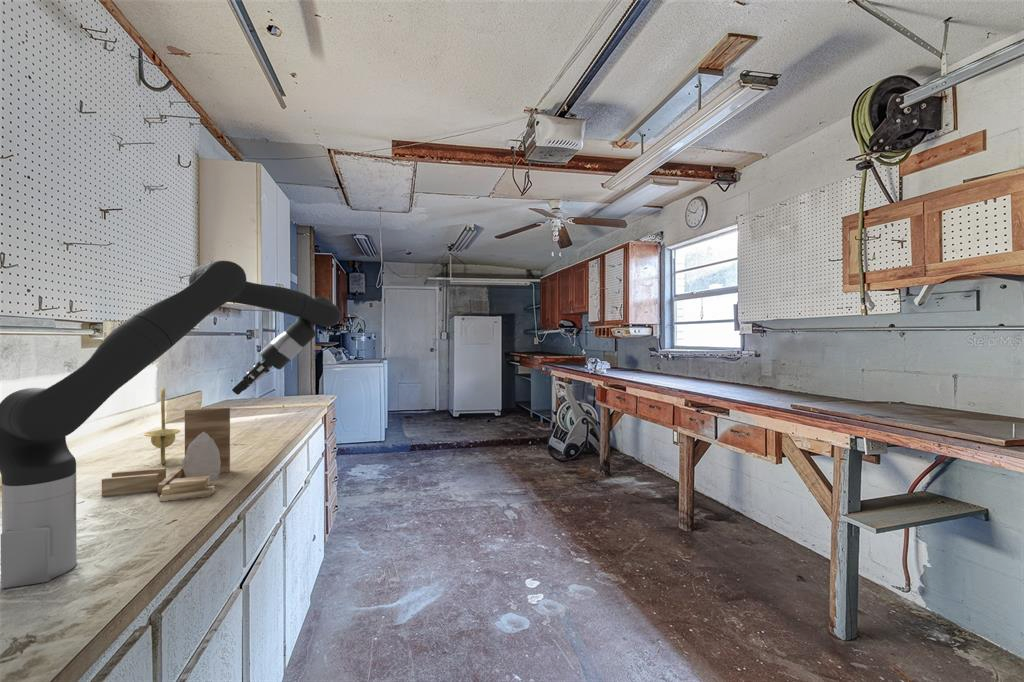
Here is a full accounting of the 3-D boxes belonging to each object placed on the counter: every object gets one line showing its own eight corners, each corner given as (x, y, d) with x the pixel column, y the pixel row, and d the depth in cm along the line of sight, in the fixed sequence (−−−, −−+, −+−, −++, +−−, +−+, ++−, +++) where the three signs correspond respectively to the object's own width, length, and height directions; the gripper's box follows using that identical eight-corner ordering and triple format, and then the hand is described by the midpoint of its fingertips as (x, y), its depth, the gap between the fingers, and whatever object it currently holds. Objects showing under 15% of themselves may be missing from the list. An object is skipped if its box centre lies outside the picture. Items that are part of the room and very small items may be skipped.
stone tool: (181, 489, 124) (181, 435, 124) (182, 486, 127) (182, 433, 127) (220, 484, 129) (220, 432, 128) (221, 481, 131) (221, 430, 131)
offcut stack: (210, 496, 119) (210, 479, 119) (159, 501, 115) (159, 484, 115) (214, 490, 123) (214, 474, 123) (166, 495, 119) (166, 478, 119)
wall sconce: (145, 460, 152) (145, 386, 151) (180, 456, 157) (180, 385, 157) (142, 470, 141) (142, 391, 140) (180, 465, 146) (180, 389, 146)
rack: (215, 490, 124) (215, 418, 123) (157, 496, 119) (157, 421, 119) (230, 470, 141) (230, 407, 141) (180, 475, 136) (180, 409, 136)
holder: (157, 491, 123) (157, 474, 123) (101, 496, 118) (101, 479, 118) (166, 483, 129) (166, 467, 129) (113, 487, 125) (113, 471, 125)
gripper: (274, 340, 138) (232, 379, 134) (268, 341, 125) (221, 384, 121) (294, 357, 140) (252, 395, 136) (290, 360, 127) (243, 403, 123)
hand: (237, 390), depth 129 cm, fingers open, 8 cm apart
